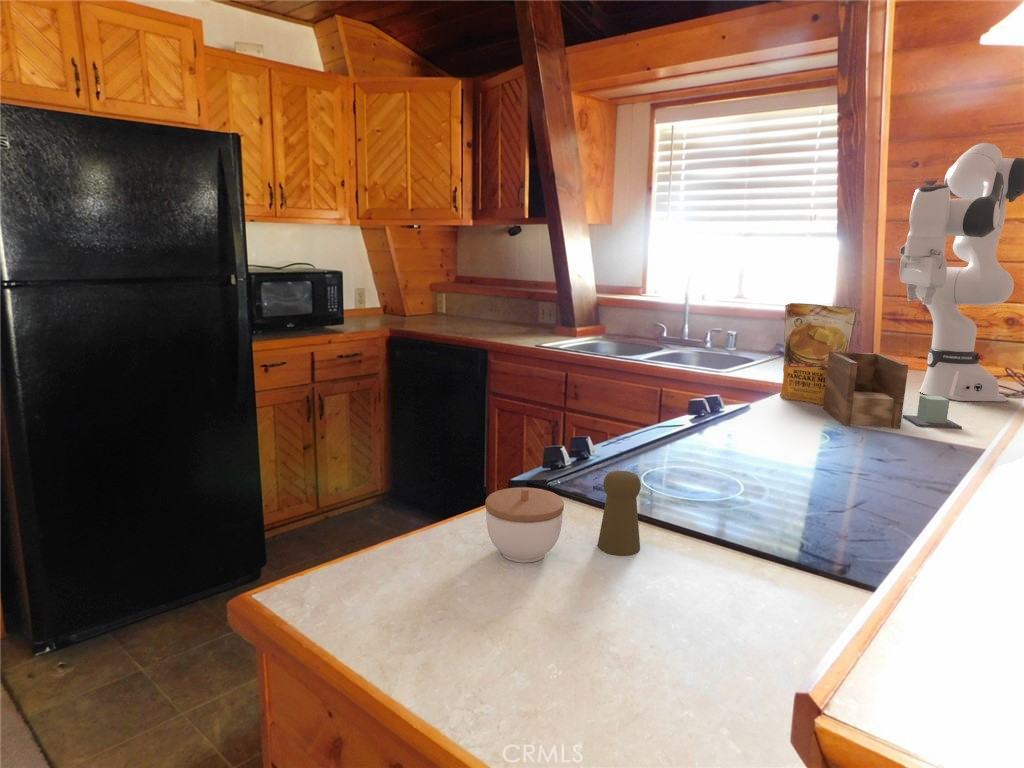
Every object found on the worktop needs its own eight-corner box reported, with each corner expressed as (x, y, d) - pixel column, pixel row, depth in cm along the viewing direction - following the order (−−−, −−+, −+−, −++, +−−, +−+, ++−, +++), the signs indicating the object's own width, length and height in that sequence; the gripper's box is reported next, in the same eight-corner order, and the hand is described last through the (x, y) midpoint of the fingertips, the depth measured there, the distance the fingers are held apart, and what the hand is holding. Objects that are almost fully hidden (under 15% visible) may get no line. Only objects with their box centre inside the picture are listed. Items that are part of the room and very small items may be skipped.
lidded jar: (537, 532, 101) (538, 472, 100) (577, 561, 92) (579, 495, 90) (472, 545, 96) (472, 482, 95) (507, 577, 87) (508, 508, 85)
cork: (622, 535, 101) (626, 464, 99) (649, 550, 96) (653, 476, 94) (589, 542, 98) (592, 469, 96) (614, 559, 93) (618, 482, 91)
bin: (873, 411, 186) (880, 353, 183) (900, 429, 167) (908, 364, 164) (822, 408, 188) (829, 351, 185) (843, 425, 169) (851, 362, 166)
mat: (943, 419, 178) (944, 417, 178) (961, 429, 168) (961, 426, 168) (902, 417, 179) (902, 415, 179) (917, 426, 170) (918, 424, 170)
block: (937, 418, 176) (940, 396, 175) (946, 423, 171) (949, 400, 170) (916, 417, 177) (919, 395, 175) (924, 422, 172) (927, 399, 171)
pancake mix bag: (781, 394, 206) (790, 302, 201) (847, 405, 193) (858, 306, 188) (771, 397, 202) (780, 302, 196) (838, 408, 188) (850, 307, 183)
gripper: (957, 250, 166) (949, 306, 169) (922, 248, 186) (916, 299, 189) (929, 250, 167) (922, 306, 170) (897, 248, 187) (891, 299, 190)
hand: (918, 302), depth 179 cm, fingers open, 8 cm apart
